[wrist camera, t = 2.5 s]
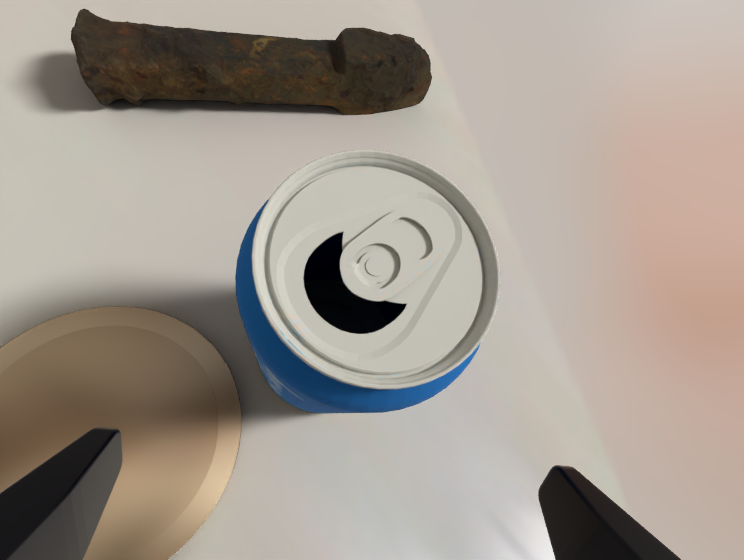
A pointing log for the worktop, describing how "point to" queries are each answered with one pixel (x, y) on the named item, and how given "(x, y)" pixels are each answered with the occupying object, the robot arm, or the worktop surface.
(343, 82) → the hand tool
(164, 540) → the coaster
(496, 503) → the worktop surface
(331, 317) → the beverage can
